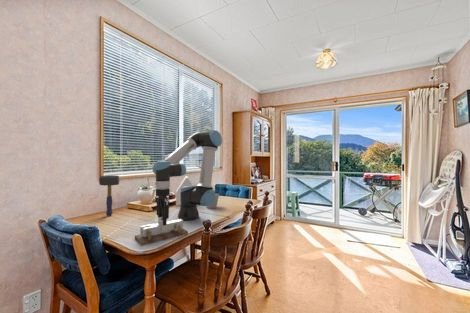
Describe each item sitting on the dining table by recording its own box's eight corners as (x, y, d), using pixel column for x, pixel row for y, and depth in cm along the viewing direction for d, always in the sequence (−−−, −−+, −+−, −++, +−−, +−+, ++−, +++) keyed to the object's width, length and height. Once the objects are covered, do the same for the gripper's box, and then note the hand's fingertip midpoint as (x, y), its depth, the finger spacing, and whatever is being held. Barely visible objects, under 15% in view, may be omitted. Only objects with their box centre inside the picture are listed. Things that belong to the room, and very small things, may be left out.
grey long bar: (179, 225, 132) (179, 218, 132) (184, 227, 127) (184, 220, 127) (140, 233, 117) (140, 226, 117) (143, 236, 113) (143, 229, 113)
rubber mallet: (119, 213, 166) (119, 174, 166) (117, 216, 159) (118, 175, 159) (100, 215, 162) (101, 175, 162) (98, 217, 155) (98, 176, 155)
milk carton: (175, 205, 195) (176, 178, 195) (176, 202, 210) (176, 176, 210) (197, 204, 200) (197, 177, 200) (196, 201, 215) (196, 176, 215)
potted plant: (210, 205, 199) (211, 183, 199) (221, 207, 190) (222, 184, 190) (200, 207, 189) (200, 184, 189) (211, 210, 180) (211, 186, 180)
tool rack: (179, 228, 135) (179, 219, 135) (187, 233, 126) (188, 224, 126) (134, 238, 118) (134, 228, 118) (141, 245, 109) (141, 234, 109)
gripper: (150, 187, 126) (150, 227, 126) (162, 190, 113) (161, 235, 113) (163, 185, 131) (162, 224, 131) (175, 189, 118) (175, 232, 118)
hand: (162, 229), depth 122 cm, fingers closed on grey long bar, 4 cm apart
